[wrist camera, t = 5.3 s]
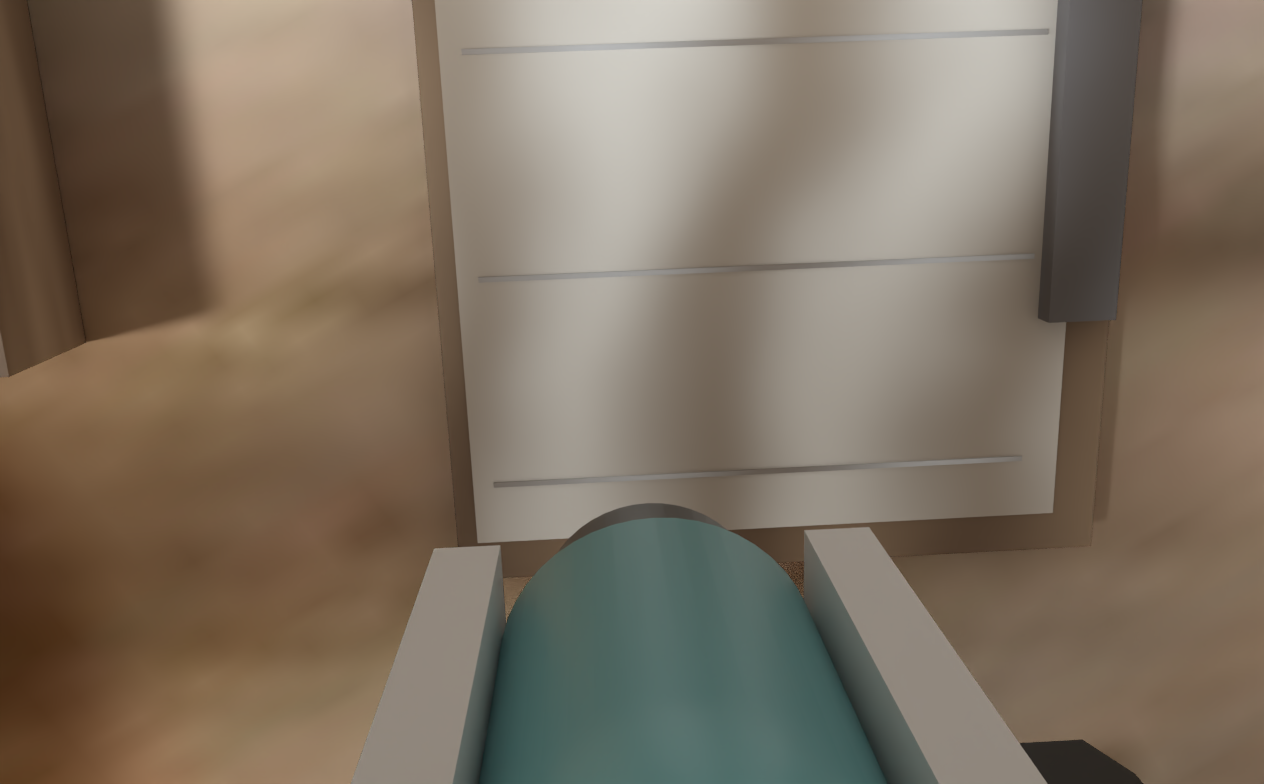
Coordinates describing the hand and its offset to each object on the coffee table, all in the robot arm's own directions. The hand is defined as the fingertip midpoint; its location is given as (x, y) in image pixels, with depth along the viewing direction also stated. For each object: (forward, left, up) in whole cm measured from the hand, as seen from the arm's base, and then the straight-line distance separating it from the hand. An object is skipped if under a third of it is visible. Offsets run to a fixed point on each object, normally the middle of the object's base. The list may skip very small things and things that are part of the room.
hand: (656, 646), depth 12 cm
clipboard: (+4, +5, -14) cm, 16 cm away
